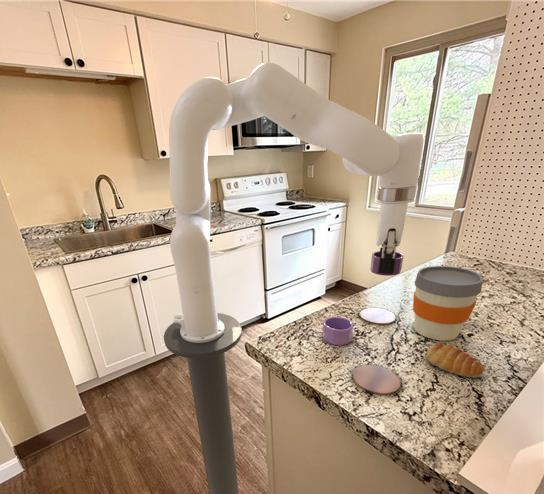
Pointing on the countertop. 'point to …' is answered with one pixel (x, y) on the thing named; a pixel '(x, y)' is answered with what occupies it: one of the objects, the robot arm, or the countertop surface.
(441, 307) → the reusable coffee cup
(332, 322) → the lavender dish
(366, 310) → the far coaster
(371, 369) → the near coaster
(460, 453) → the countertop surface
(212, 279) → the robot arm
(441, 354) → the pastry
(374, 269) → the plum dish
